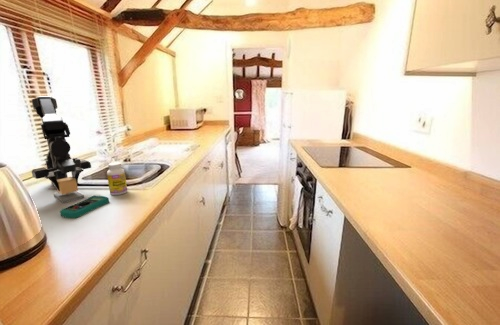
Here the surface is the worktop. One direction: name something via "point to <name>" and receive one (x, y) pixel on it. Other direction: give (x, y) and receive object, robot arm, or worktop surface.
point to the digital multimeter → (84, 206)
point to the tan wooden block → (67, 185)
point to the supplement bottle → (116, 179)
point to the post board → (69, 196)
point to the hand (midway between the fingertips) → (67, 188)
